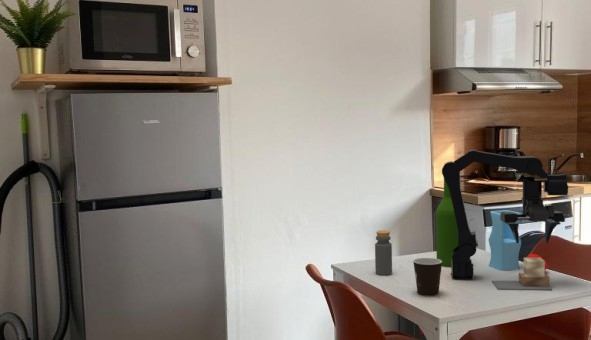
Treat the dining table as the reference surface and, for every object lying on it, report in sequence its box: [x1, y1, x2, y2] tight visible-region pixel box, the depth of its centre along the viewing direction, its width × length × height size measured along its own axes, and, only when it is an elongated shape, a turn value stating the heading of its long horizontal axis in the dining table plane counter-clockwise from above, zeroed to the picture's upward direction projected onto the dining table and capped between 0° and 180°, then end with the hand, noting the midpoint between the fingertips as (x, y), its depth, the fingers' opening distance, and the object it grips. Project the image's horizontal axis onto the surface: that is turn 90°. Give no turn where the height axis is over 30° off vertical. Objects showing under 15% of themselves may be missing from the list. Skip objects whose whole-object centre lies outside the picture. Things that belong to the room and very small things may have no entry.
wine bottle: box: [435, 178, 458, 268], centre depth 204 cm, size 9×9×32 cm
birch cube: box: [523, 257, 546, 277], centre depth 175 cm, size 5×5×5 cm
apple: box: [525, 253, 548, 271], centre depth 191 cm, size 7×7×8 cm
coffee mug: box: [412, 257, 443, 297], centre depth 172 cm, size 12×9×10 cm
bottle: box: [374, 230, 393, 277], centre depth 195 cm, size 6×6×15 cm
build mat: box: [491, 279, 553, 291], centre depth 175 cm, size 16×9×1 cm, turn 81°
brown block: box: [518, 272, 551, 288], centre depth 175 cm, size 8×5×3 cm, turn 81°
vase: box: [488, 209, 522, 272], centre depth 198 cm, size 8×8×20 cm
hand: (532, 243), depth 180 cm, fingers open, 9 cm apart
